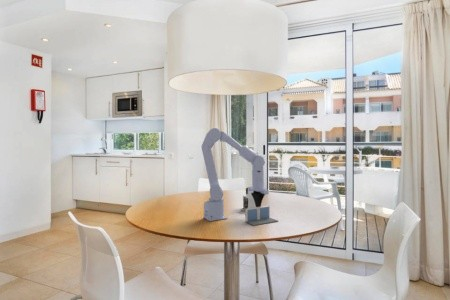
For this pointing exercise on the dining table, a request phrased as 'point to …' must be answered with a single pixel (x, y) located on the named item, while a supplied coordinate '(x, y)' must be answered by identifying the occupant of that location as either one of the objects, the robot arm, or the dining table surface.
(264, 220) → the mat
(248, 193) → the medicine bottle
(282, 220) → the dining table surface
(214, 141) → the robot arm
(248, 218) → the tile near
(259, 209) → the tile far
